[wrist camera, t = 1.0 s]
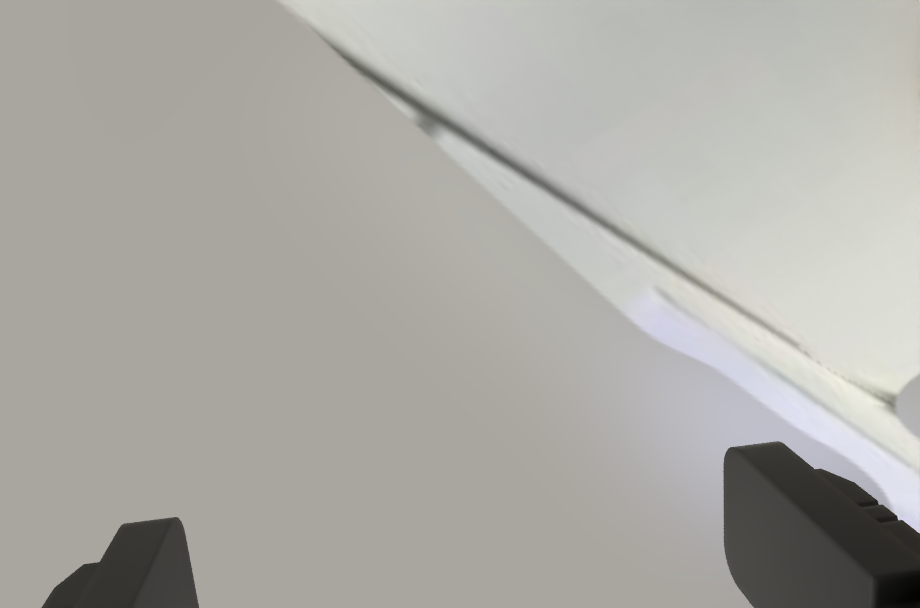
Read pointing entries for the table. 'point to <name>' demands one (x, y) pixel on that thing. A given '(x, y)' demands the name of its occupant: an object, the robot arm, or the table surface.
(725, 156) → the table surface
